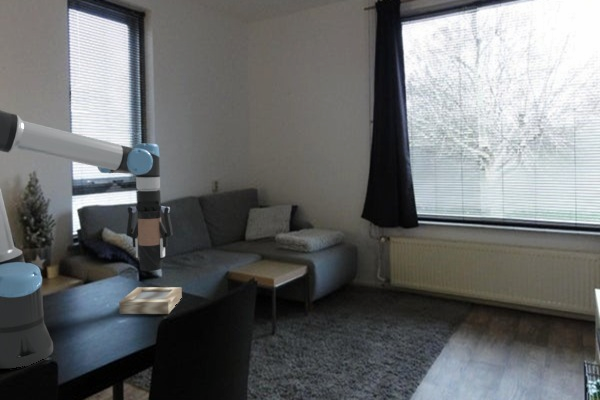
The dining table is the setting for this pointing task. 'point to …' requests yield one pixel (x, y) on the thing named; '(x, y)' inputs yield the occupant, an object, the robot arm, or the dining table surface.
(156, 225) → the travel mug
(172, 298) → the display stand
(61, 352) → the dining table surface
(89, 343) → the dining table surface
